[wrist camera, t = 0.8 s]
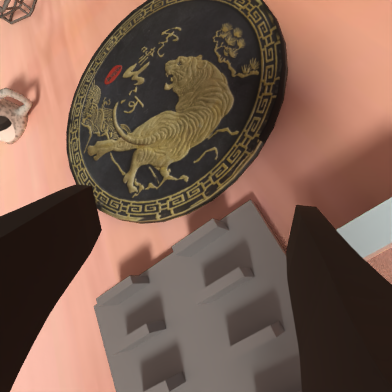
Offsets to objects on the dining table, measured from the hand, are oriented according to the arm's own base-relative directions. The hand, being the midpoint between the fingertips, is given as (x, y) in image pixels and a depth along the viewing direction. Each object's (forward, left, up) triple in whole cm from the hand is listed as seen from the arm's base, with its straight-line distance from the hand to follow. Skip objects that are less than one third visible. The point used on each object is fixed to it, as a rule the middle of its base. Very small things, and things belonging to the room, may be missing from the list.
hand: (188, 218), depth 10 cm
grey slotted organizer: (-2, +10, -16) cm, 19 cm away
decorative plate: (+23, +3, -16) cm, 28 cm away
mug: (+41, +26, -16) cm, 51 cm away
